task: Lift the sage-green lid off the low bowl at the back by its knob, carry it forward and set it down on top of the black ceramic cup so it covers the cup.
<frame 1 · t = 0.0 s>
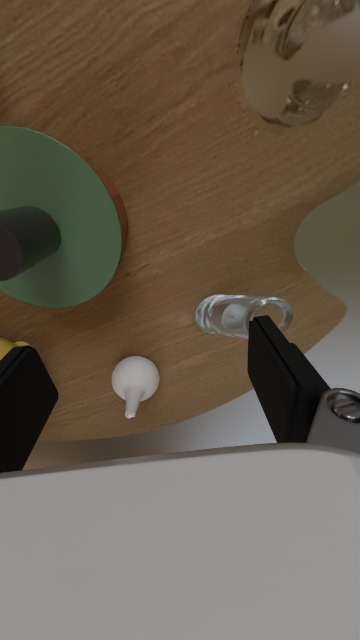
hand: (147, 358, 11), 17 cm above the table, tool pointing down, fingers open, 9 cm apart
lid: (39, 231, 18), point 6 cm above the table, touching bowl
garlic bulb: (137, 369, 34), on the table
bowl: (67, 220, 24), on the table
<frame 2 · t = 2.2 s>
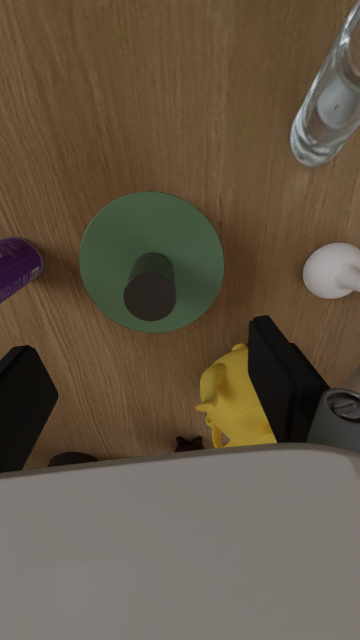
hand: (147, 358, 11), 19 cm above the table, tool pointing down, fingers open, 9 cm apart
teapot: (235, 373, 37), on the table
cup: (75, 467, 46), on the table
lid: (153, 270, 22), point 6 cm above the table, touching bowl
garlic bulb: (323, 266, 29), on the table
container: (22, 258, 26), on the table
mate gourd: (185, 443, 44), on the table
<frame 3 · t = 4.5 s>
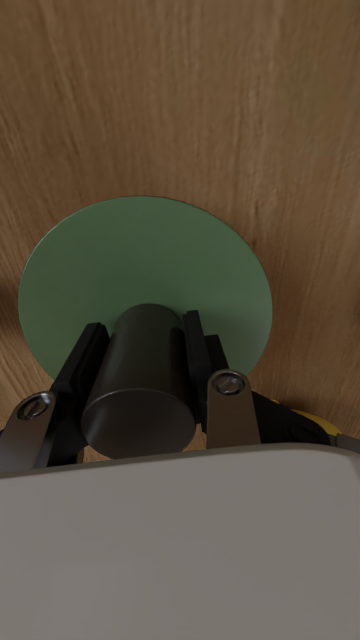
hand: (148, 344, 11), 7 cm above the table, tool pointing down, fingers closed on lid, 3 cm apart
teapot: (260, 433, 28), on the table
lid: (150, 328, 13), point 6 cm above the table, touching gripper, bowl
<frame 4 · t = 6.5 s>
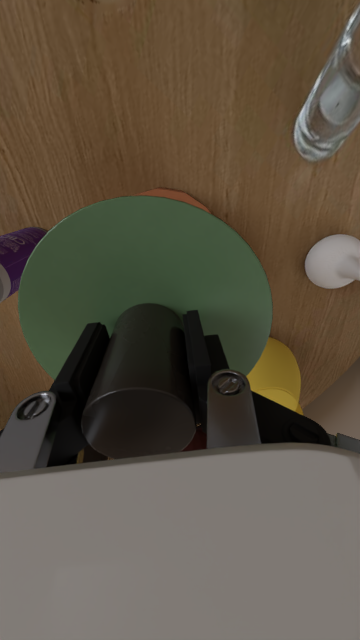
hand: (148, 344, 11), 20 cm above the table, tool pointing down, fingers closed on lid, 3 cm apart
teapot: (239, 362, 38), on the table
lid: (150, 328, 13), point 18 cm above the table, touching gripper
garlic bulb: (325, 258, 30), on the table
bowl: (165, 244, 28), on the table
container: (40, 247, 28), on the table
mate gourd: (189, 430, 46), on the table
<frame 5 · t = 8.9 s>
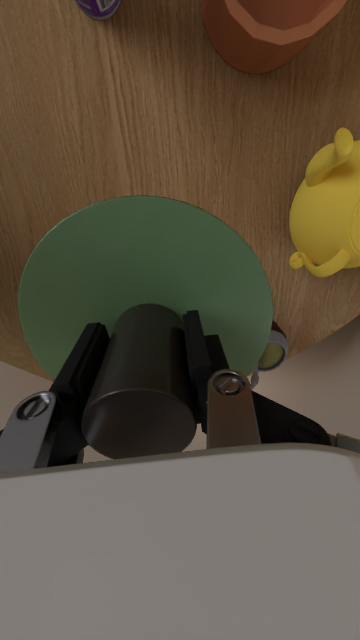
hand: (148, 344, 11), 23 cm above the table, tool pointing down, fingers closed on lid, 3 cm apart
teapot: (323, 213, 31), on the table
lid: (150, 328, 13), point 22 cm above the table, touching gripper
mate gourd: (246, 325, 39), on the table
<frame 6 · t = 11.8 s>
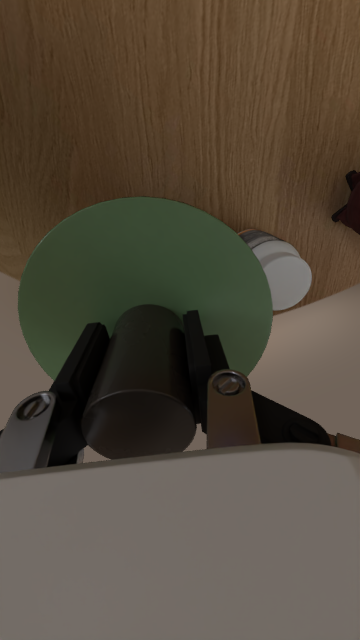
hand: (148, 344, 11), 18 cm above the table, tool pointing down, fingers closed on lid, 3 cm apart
lid: (150, 329, 13), point 17 cm above the table, touching gripper
mate gourd: (353, 199, 26), on the table
pill bottle: (246, 253, 28), on the table
when the fingers open (11 cm above the table, at t = 13.6 s): lid stays where it is, resting on cup.
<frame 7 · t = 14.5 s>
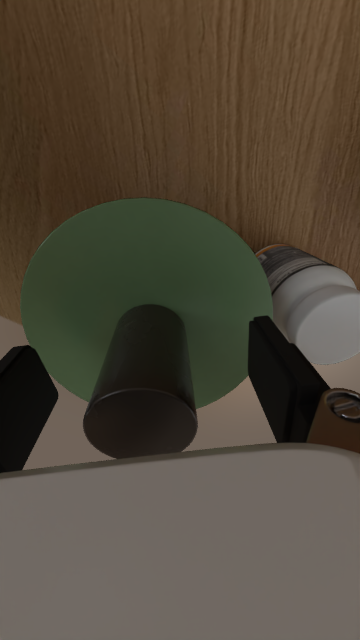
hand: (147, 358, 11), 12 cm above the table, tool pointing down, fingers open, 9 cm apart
lid: (151, 328, 13), point 10 cm above the table, touching cup
pill bottle: (270, 273, 22), on the table
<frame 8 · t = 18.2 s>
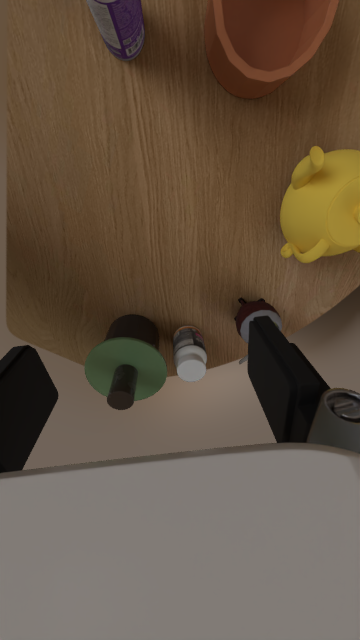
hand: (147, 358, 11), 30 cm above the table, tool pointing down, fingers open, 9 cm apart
teapot: (309, 210, 36), on the table
cup: (133, 336, 46), on the table
lid: (126, 370, 38), point 10 cm above the table, touching cup
bowl: (256, 30, 27), on the table
container: (123, 32, 26), on the table
mate gourd: (245, 309, 44), on the table
pill bottle: (187, 336, 47), on the table
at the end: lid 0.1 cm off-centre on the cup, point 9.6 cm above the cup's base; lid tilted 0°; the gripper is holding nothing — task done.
